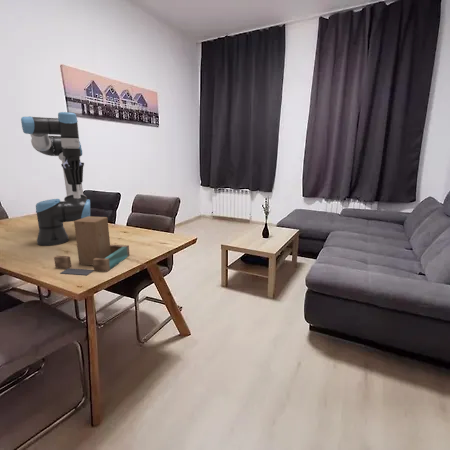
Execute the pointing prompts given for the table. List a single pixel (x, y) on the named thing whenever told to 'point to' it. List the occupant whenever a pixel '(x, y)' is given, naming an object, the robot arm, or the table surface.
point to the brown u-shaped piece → (99, 259)
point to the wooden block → (92, 239)
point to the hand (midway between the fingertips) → (77, 198)
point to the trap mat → (77, 271)
